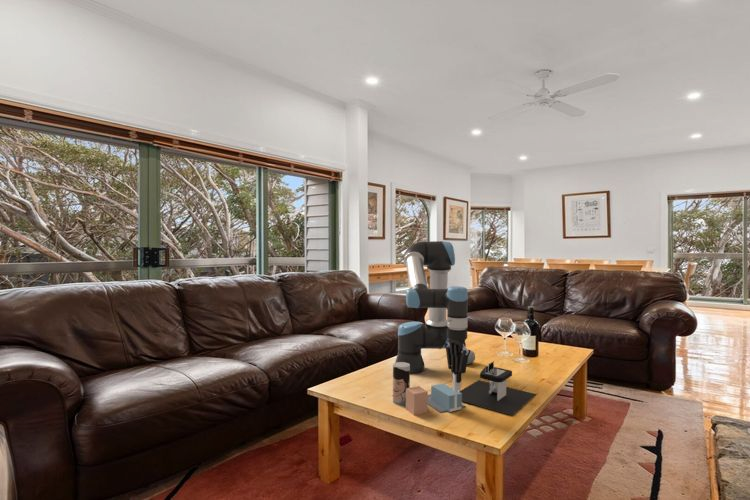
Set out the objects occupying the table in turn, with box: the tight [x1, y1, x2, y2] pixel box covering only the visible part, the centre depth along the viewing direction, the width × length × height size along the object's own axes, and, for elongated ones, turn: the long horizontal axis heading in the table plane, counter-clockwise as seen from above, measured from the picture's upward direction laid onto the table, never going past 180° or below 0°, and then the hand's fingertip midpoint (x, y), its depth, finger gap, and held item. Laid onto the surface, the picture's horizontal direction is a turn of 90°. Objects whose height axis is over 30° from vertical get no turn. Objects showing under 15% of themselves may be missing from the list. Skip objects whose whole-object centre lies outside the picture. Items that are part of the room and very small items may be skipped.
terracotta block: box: [405, 386, 429, 416], centre depth 154 cm, size 6×6×8 cm
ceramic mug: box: [467, 349, 476, 365], centre depth 213 cm, size 11×8×8 cm
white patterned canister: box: [392, 362, 411, 406], centre depth 162 cm, size 7×7×15 cm
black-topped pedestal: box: [458, 360, 537, 416], centre depth 168 cm, size 28×26×13 cm
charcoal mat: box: [428, 393, 467, 414], centre depth 162 cm, size 16×12×1 cm
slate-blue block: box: [430, 383, 463, 413], centre depth 158 cm, size 6×6×12 cm
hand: (456, 390), depth 152 cm, fingers closed
